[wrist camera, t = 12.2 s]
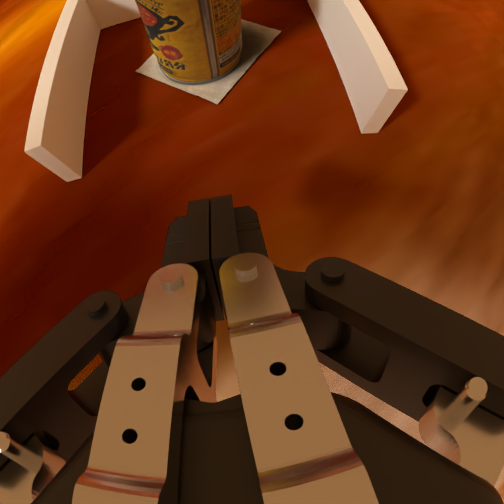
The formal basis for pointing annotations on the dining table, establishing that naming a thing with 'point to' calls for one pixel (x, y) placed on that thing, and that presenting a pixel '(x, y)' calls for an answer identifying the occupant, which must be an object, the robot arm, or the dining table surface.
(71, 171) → the caddy
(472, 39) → the dining table surface
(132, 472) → the robot arm
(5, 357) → the dining table surface
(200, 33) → the condiment
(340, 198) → the dining table surface
